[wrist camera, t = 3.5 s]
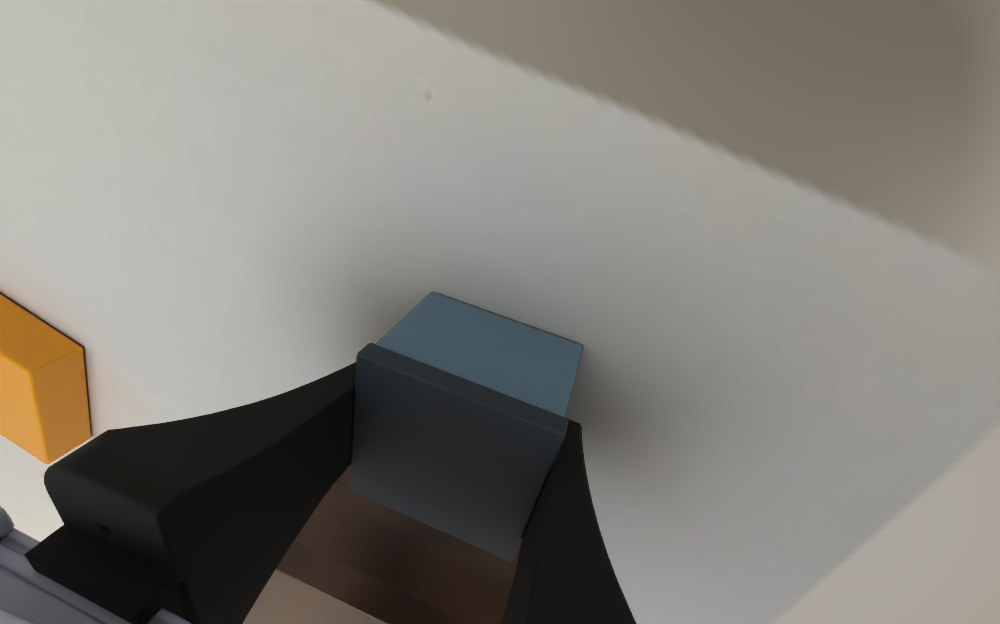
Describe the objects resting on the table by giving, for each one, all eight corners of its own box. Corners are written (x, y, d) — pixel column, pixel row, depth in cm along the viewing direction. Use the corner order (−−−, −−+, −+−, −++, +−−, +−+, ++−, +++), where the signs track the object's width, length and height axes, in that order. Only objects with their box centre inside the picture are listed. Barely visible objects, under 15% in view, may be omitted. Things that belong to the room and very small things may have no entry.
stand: (552, 543, 17) (521, 691, 13) (496, 659, 23) (461, 788, 19) (316, 440, 19) (220, 542, 15) (317, 572, 25) (247, 672, 20)
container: (587, 343, 13) (565, 435, 9) (542, 458, 15) (511, 564, 12) (429, 286, 14) (355, 353, 10) (411, 406, 16) (348, 490, 13)
